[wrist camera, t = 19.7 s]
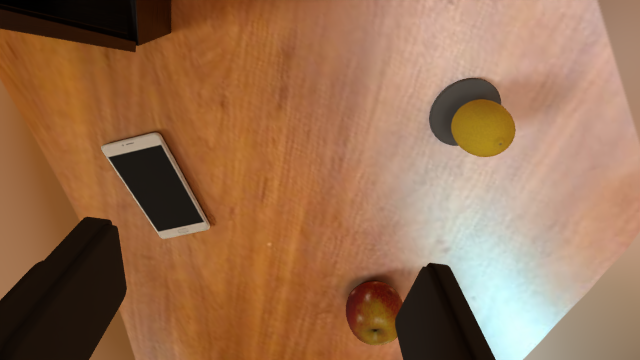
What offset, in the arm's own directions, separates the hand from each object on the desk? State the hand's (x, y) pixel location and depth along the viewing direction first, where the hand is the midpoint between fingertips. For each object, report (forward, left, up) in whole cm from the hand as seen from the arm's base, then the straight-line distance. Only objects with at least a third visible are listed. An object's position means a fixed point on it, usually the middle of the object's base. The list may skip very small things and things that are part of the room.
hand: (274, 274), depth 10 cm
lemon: (+1, +20, -28) cm, 34 cm away
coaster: (+1, +20, -28) cm, 35 cm away
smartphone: (+19, -14, -28) cm, 37 cm away
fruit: (+33, +19, -28) cm, 47 cm away
